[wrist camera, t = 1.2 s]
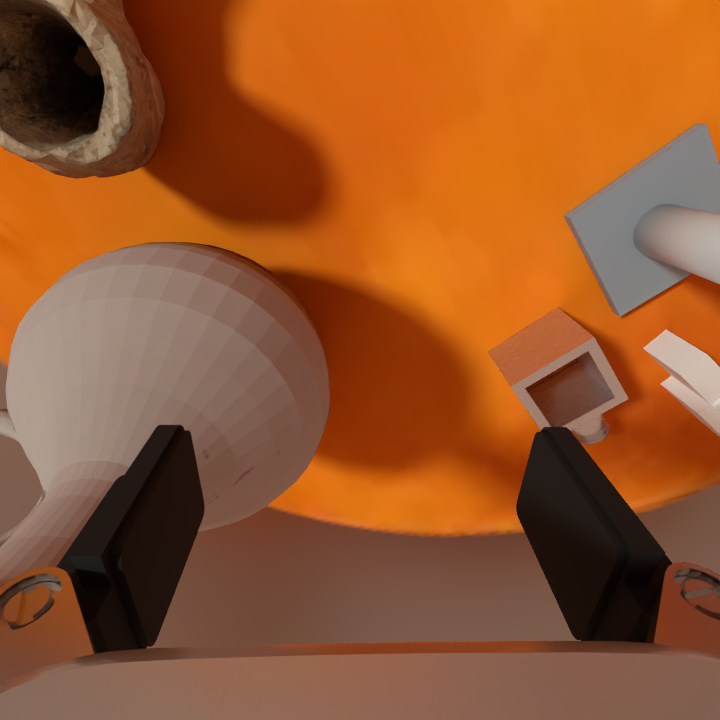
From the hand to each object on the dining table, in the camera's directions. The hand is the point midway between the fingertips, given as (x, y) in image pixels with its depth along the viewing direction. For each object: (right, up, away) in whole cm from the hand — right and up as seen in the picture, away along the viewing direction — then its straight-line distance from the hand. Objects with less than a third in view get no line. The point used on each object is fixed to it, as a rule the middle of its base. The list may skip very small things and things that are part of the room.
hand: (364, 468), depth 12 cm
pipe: (-16, +24, +15) cm, 32 cm away
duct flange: (+22, +13, +21) cm, 34 cm away
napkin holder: (+30, +2, +28) cm, 41 cm away
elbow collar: (+17, +2, +27) cm, 32 cm away
